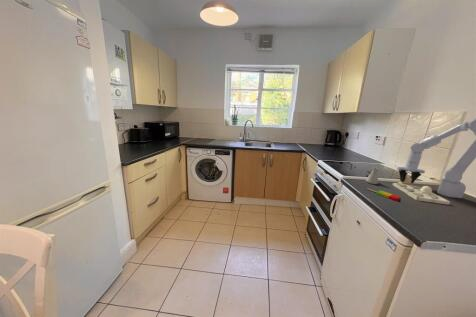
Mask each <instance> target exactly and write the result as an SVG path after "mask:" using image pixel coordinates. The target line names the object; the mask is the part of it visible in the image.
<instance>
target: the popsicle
mask: <svg viewBox="0 0 476 317" xmlns="http://www.w3.org/2000/svg"><path fill="white" fill-rule="evenodd" d="M366 190H368V191H371V192H374V193H375V194H376V195H377V196H380V197H384V198H386V199H389V200H391V201H394V202H398V201H400V199H401V196H399V195H396V194H394V193H393V194H392V193H390V192H387V191H384V190H379V191H377V190H373V189H371V188H366Z"/></svg>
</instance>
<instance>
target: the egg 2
mask: <svg viewBox="0 0 476 317" xmlns="http://www.w3.org/2000/svg"><path fill="white" fill-rule="evenodd" d="M421 187H422V188H421V190H420V192H421V193H423V194H430V195H431V192H432V193H433V189H432V187H430V186H428V185H424V186H421Z"/></svg>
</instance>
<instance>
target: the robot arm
mask: <svg viewBox="0 0 476 317" xmlns="http://www.w3.org/2000/svg"><path fill="white" fill-rule="evenodd" d="M469 130H471V131H472V132H473V134H474V135H475V136H476V118H473V119H471V120H470V121H465V122H463V123H460V124H458V125H455V126H453V127H452V128H450V129H447V130H445V131H443V132H441V133H439V134H438V135H437V134H432V135H427V137H426V138H423V139H421V140H418V141H417V142H414V143H413V144H412V145H411V146H410V151H409V154H408V157H407V159H406V160H407V161H406V163H405V166H397V167H396V170H397V171H398V173H399V179H400V180H399V182H404V179H405V177H406V176H408V172H411V173H410V174H411V175H410V177H411V178H412V182H411V184H414V182H415V181H416V180H417V179H418V178H419V177H421V176H422V174H425V172H426V170H424V169H421V168H420V169H419V168H418V167H419V165H420V161H421V159H422V156H423V155H422V154H423V152H424V151H425V149H427V150H428V149H430V148H432V147H434V146H437V145H439V144H441V142H442V140H444V139H446V138H448V137H450V136H453V135H455V134H458V133H460V132H467V131H469ZM475 160H476V139H475V140H474V141H473V142H472V144H470V146H469V147H468V148H467V149H466V150H465V152H464V153H463V154H462V155H461V157H460V158H459V159H458V160H457V161H456V162H455V164H454V165H453V166H452V167H451V168H449V169H447V170H446V171H445V173H444V177H442V178H441V181H440V183H439V186H438V189H437V191H436V193H437V194H439V195H441V196H444V197H449V198H458V199H462V198H463V197H464V195H465V192H466V188H467V186H466V184H465V183H463V182H462V179H463V175H464V174H465V172H466V170H467V168H469V167H470V166H471V164H472V163H473V162H474V161H475Z"/></svg>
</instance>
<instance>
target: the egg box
mask: <svg viewBox="0 0 476 317" xmlns="http://www.w3.org/2000/svg"><path fill="white" fill-rule="evenodd" d="M392 186H393V187H395V188H396V189H398V190H400V191H401V192H403V193H404V194H405V195H408V196H409V197H411V198H413V199H414V200H416V201H418V202H419V201H420V202H426V203H435V204H442V205H448V206H449V205H450V204H451V201H450V200H448V199H446V198H444V197H442V196H440V195H438V194H435V193H434V192H433V191H432V192H431V195H430V194H423V193H421V192H420V190H421V188H422V187H423V186H419V185H414V184H412V185H406V184H400V183H398V182H392Z"/></svg>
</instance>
